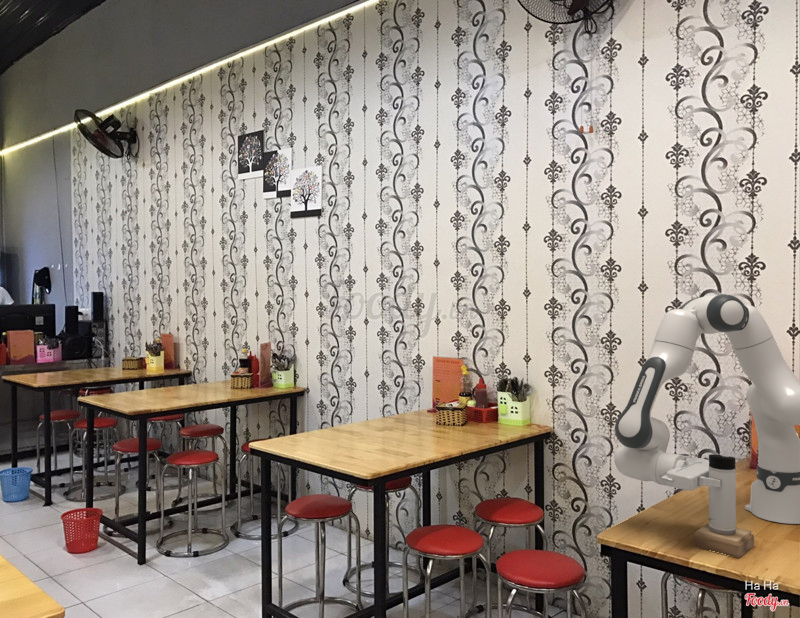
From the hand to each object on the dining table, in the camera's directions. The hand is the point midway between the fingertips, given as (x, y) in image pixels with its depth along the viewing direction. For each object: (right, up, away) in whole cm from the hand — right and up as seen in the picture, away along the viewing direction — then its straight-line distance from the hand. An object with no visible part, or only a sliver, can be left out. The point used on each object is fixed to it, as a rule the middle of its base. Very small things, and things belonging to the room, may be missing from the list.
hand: (726, 480), depth 167 cm
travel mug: (-1, -14, +1) cm, 14 cm away
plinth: (0, -17, +1) cm, 17 cm away
